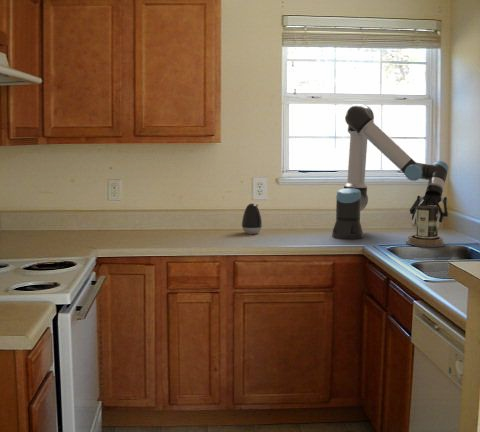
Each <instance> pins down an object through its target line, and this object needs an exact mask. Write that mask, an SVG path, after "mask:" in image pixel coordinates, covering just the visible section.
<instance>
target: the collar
mask: <svg viewBox="0 0 480 432" xmlns="http://www.w3.org/2000/svg"><path fill="white" fill-rule="evenodd" d="M408 244H409V245H408ZM444 244H445V242H444V237H442V236H439V235H438V237H437V238H430V239H427V238H418V237H415V234H412V235H411V234H410V235H409V236H408V240H407V241H406V245H408V246H410V245H414V246H413V247H415V246H417V248H429V249H436V248H444V247H445V245H444Z"/></svg>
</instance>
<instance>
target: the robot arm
mask: <svg viewBox="0 0 480 432" xmlns="http://www.w3.org/2000/svg"><path fill="white" fill-rule="evenodd" d="M374 117H375V115H374V111H373V110H372V108H370V106H367V105H366V104H359V103H355V104H352V105H349V106H348V107H347V109H346V110H345V113H344V121H345V123H346V124H347V133H348V134H349V135H350V137H349V149H348V150H349V152H348V166H347V180H346V183H344V185H343V188H340V189H338V190H337V192H336V197H335V199H336V209H335V211H336V212H335V215H336V216H335V223H334V224H333V228H332V230H331V231H332V232H331V236H332V237H333V238H336V239H342V240H343V239H344V240H356V239H362V238H364V232H363V231H364V230H363V228H362V223H361V212H362V211H363V210H364V209H366V207H367V205H368V201H369V197H368V194H367V193H368V186H367V185H366V184H365V182H366V181H365V179H366V166H367V165H366V164H367V151H368V141H369V142H370V143H371V144H372V145H373V146H375V148H376V149H377V150H379V152H381V154H383V156H385V157H386V158H387V159H388V160H389V161H390V162H392V164H393V165H394V166H396V168H398V169H399V170H400V171H401V173H403V175H405V177H406V179H407V180H409V181H412V182H413V181H415V182H416V181H418V180H426V181H428V182H427V186H426V190H425V193H424V195H423V196H420V195H417V196H416V200H415V201H414V202H413V204H412V206H411V207H410V209H409V213H410V215H411V219H412V222H411V223H412V224H411V225H412V227H413V228H415V227H416V206H437V207H439V213H438V218H437V222H436V229H438V230H439V227H440V223H443V219H444V217H446V218H448V217H449V213H448V212H449V211H448V206H447V205H448V198H447V196H444V197H443V196H442V195H443V191H444V187H445V184H446V180H447V177H448V171H449V164H448V163H446V162H445V161H442V160H438V161H435V162H433V164H427V163H422V162H421V163H420V162H416V161H415V160H414V159H413V158H412V157H411V156H410V155H409V154H408V153H406V152H405V150H403V149H402V148H401V147H400V146H399V145H398V144H397V143H396V142H395V141H394V140H393V139H392V138H391V137H389V135H387V134H386V132H384V131H383V130H382V129H381V128H380V127H379V126H378V125H377V124H375V122H374V121H375V120H374V119H375V118H374ZM440 202H442V203H443V209H444V212H443V210H442V208H441V205H440V204H439V203H440Z"/></svg>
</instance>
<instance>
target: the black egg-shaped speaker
mask: <svg viewBox="0 0 480 432" xmlns="http://www.w3.org/2000/svg"><path fill="white" fill-rule="evenodd" d="M258 206H259V204H258V203H257V204H256V203H249V204H248V205H247V206H246V208H245V210H244V211H243V216H242V222H241V227H242V230H243V232H244V233H245V234H247V235H256V234H258V233H260V232H261V230H262V227H263V223H262V222H263V221H262V215H261V213H260V209H259V207H258Z"/></svg>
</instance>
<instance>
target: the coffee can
mask: <svg viewBox="0 0 480 432" xmlns="http://www.w3.org/2000/svg"><path fill="white" fill-rule="evenodd" d="M438 214H439V207H437V206H436V205H435V206H432V205H430V206H429V205H427V206H419V205H418V206H416V224H415V227H414V230H415V233H414V235H415V237H418V238H427V239H430V238H437V237H438V236H439V228H438V229H436V222H437V218H438Z"/></svg>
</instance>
